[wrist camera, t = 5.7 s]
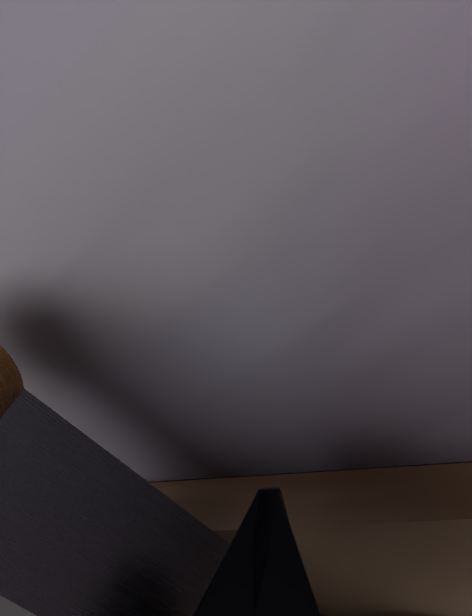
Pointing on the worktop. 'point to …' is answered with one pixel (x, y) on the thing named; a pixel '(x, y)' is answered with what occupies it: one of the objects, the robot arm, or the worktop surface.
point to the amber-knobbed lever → (88, 524)
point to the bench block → (362, 533)
